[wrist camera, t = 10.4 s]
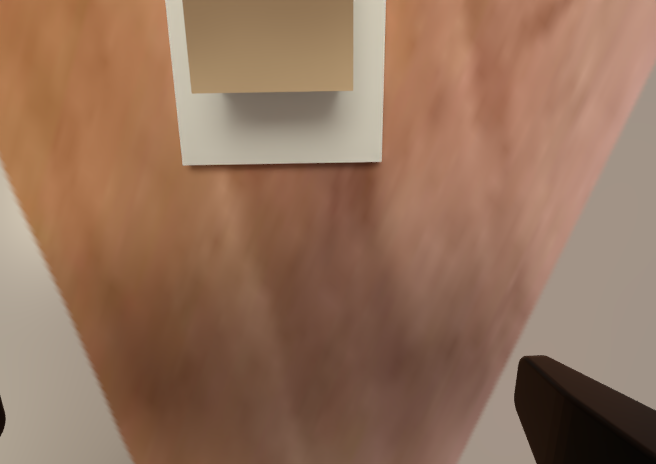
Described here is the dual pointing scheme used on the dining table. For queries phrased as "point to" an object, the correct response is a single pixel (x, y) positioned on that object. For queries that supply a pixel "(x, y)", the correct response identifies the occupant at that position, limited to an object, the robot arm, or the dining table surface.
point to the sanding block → (269, 45)
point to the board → (285, 108)
